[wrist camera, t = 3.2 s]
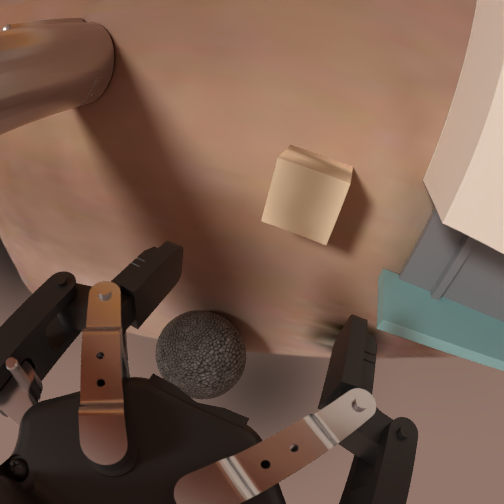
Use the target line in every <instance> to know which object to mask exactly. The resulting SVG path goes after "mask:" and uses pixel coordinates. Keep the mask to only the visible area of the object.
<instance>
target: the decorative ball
mask: <svg viewBox="0 0 504 504" xmlns="http://www.w3.org/2000/svg"><path fill="white" fill-rule="evenodd" d="M156 362H157V366H158V369H159V371H160V374H161V376H162V377H163V379H165V380H166V381H168V382H170V383H172V384H174V385H176V386H177V387H178V388H179V389H181V390H182V391H183V392H184V393H185V394H187V395H188V396H189V397H190V398H195V399H210V398H215V397H218V396H220V395H222V394H224V393H226V392H227V391H229V390H230V389H231V388H232V387H233V386H234V385H235V384H236V383H237V382H238V380H239V379H240V377H241V375H242V373H243V371H244V368H245V363H246V349H245V345H244V341H243V339H242V337H241V335H240V333H239V331H238V330H237V329H236V327H235V326H234V325H233V324H232V323H231V322H230V321H228V320H227V319H226V318H224V317H222V316H220V315H218V314H216V313H213V312H208V311H190V312H186V313H183V314H181V315H179V316H177V317H176V318H174V319H173V320H172V321H170V322H169V323H168V324H167V325H166V326H165V328H164V329H163V331H162V332H161V334H160V336H159V338H158V342H157V345H156Z"/></svg>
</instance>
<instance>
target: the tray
mask: <svg viewBox="0 0 504 504" xmlns="http://www.w3.org/2000/svg"><path fill="white" fill-rule="evenodd" d="M377 329H379V330H382V331H385V332H388V333H391V334H393V335H396V336H399V337H402V338H405V339H408V340H411V341H414V342H417V343H420V344H422V345H425V346H428V347H431V348H434V349H437V350H440V351H443V352H446V353H449V354H452V355H455V356H459V357H462V358H465V359H468V360H471V361H474V362H477V363H480V364H483V365H486V366H490V367H493V368H496V369H499V370H502V371H504V254H503V253H501V252H499V251H497V250H495V249H493V248H491V247H490V246H488V245H486V244H484V243H482V242H480V241H478V240H476V239H474V238H472V237H470V236H468V235H466V234H464V233H462V232H460V231H458V230H456V229H454V228H452V227H449V226H447V225H445V224H443V223H442V221H441V219H440V217H439V214H438V212H437V210H436V207H434V209H433V212H432V214H431V216H430V218H429V220H428V222H427V224H426V226H425V228H424V230H423V232H422V233H421V235H420V237H419V239H418V241H417V243H416V245H415V247H414V249H413V250H412V252H411V254H410V256H409V258H408V260H407V261H406V263H405V265H404V267H403V268H402V270H401V272H400V274H396V273H394V272H391V271H389V270H386V269H383V270H382V272H381V274H380V276H379V281H378V312H377Z"/></svg>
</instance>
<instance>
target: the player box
mask: <svg viewBox="0 0 504 504" xmlns="http://www.w3.org/2000/svg"><path fill="white" fill-rule="evenodd" d="M423 182H424V184H425V186H426V188H427V190H428V192H429V194H430V196H431V199H432V201H433V203H434V205H435V207H436V210H437V212H438V214H439V217H440V219H441V221H442V223H443V224H445V225H447V226H449V227H452V228H454V229H456V230H458V231H460V232H462V233H464V234H466V235H468V236H470V237H472V238H474V239H476V240H478V241H480V242H482V243H484V244H486V245H488V246H490V247H491V248H493V249H495V250H497V251H499V252H501V253H503V254H504V0H477V3H476V9H475V14H474V20H473V25H472V29H471V34H470V38H469V43H468V47H467V51H466V55H465V59H464V63H463V66H462V70H461V74H460V77H459V81H458V84H457V88H456V91H455V94H454V97H453V100H452V104H451V107H450V110H449V113H448V116H447V119H446V121H445V124H444V127H443V130H442V133H441V135H440V138H439V141H438V144H437V146H436V149H435V151H434V154H433V157H432V159H431V162H430V164H429V167H428V169H427V171H426V174H425V176H424V179H423Z"/></svg>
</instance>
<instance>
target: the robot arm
mask: <svg viewBox="0 0 504 504" xmlns="http://www.w3.org/2000/svg"><path fill="white" fill-rule="evenodd" d="M113 67H114V48H113V43H112V40H111V38H110V35H109V33H108V32H107V31H106V30H105V28H104V27H102V26H101V25H99V24H97V23H87V22H84V21H83V19H82V18H66V19H49V20H38V21H28V22H20V23H13V24H8V25H6V26H5V27H4V28H3V29H2V31H0V135H1V134H3V133H5V132H8V131H10V130H13V129H15V128H17V127H20V126H23V125H25V124H28V123H30V122H33V121H36V120H39V119H41V118H44V117H47V116H50V115H53V114H56V113H59V112H62V111H65V110H69V109H72V108H75V107H80V106H82V105H86V104H89V103H91V102H93V101H95V100H96V99H98V98H99V97H100V96H101V95H102V94H103V92H104V91H105V89H106V87H107V86H108V84H109V81H110V79H111V76H112V72H113ZM182 258H183V247H182V246H180V245H177V244H175V243H173V242H170V241H166V242H165V243H164V244H163V245H162V246H160V247H159V248H156V247H152V248H150V249H148V250H145V251H144V252H143V253H141V254H140V255H139V256H138V257H137V259H135V260H134V261H133V262H132V263H130V264H129V265H128V266H127V267H126V268H125V269H124V270H123V271H122V272H121V273H120V274H118V275H117V276H116V277H115V278H114V279H113V280H112V281H111V282H109V281H103V282H99V283H97V284H95V285H94V286H87V285H82V284H78V283H76V279H75V277H74V275H73V274H71V273H69V272H58V273H56V274H54V275H52V276H51V277H50V278H49V279H48V280H47V281H46V282H45V283H44V284H43V285H42V286H40V287H39V288H38V289H37V290H36V291H35V292H34V293H33V294H32V295H31V296H30V297H29V298H28V299H27V300H26V301H25V302H24V303H23V304H22V305H21V306H20V307H19V308H18V309H17V310H16V311H15V312H14V313H13V314H12V315H11V316H10V317H9V318H8V319H7V320H6V322H5V323H4V324H3V325H2V326H1V327H0V413H1V414H2V415H4V416H6V417H10V418H11V419H12V420H13V421H14V422H15V423H16V424H17V425H18V426H20V427H19V434H18V439H17V443H16V447H15V449H14V451H13V453H12V455H11V456H10V457H9V459H7V460H6V461H5V462H4V463H3V464H2V465H0V504H286V502H285V499H284V497H283V494H282V491H281V489H280V486H279V482H281V481H282V480H284V479H286V478H287V477H289V476H290V475H292V474H294V473H295V472H297V471H298V470H300V469H301V468H303V467H305V466H306V465H307V464H309V463H311V462H312V461H313V460H315V459H317V458H318V457H320V456H321V455H322V454H324V453H325V452H327V451H328V450H329V449H331V448H332V447H334V446H335V445H336V444H339V445H341V446H342V447H344V448H346V449H347V450H349V451H350V452H351V453H353V454H354V459H353V462H352V465H351V469H350V472H349V476H348V479H347V482H346V485H345V488H344V491H343V494H342V497H341V500H340V503H339V504H406V501H407V497H408V492H409V487H410V482H411V477H412V472H413V466H414V460H415V454H416V447H417V440H418V430H417V428H416V426H415V424H414V423H413V422H412V421H411V420H410V419H408V418H405V417H399V418H396V419H395V420H393V419H391V418H390V417H388V416H387V415H385V414H384V413H382V412H381V411H380V410H379V409H378V408H377V407H376V401H375V399H374V398H373V396H372V389H373V381H374V372H375V362H376V352H377V344H376V341H375V338H374V335H372V334H369V333H367V323H368V322H367V320H366V319H363V318H360V317H358V316H355V315H351V316H350V317H349V319H348V320H347V322H346V324H345V325H344V327H343V328H342V330H341V332H340V333H339V335H338V337H337V339H336V341H335V343H334V346H333V349H332V354H331V358H330V363H329V367H328V371H327V375H326V379H325V383H324V387H323V391H322V395H321V399H320V402H319V406H318V409H320V411H318V412H317V413H315V414H313V415H312V414H310V415H308V416H306V417H304V418H302V419H301V420H299V421H297V422H296V423H294V424H292V425H291V426H289V427H287V428H285V429H284V430H282V431H280V432H278V433H277V434H275V435H273V436H271V437H269V438H267V439H265V440H264V441H262V439H261V438H260V436H259V435H258V434H257V433H256V432H255V431H254V430H253V429H252V428H251V427H249V426H248V425H247V422H248V420H249V418H247V417H244V416H242V415H239V414H237V413H234V412H232V411H230V410H227V409H225V408H220V407H216V406H211V405H206V404H201V403H197V402H195V401H194V400H193V399H191V398H190V397H189V396H188V395H187V394H185V393H184V392H183V391H182V390H181V389H179V388H178V387H177V386H176V385H174V384H172V383H170V382H168V381H166V380H165V379H163V378H160V377H159V376H156V375H155V374H152V376H151V377H150V379H147V378H141V377H130V374H129V367H128V354H127V336H126V330H127V328H128V327H129V326H130V325H131V326H133V327H135V328H137V329H138V328H139V327H140V326H141V325H142V324H143V322H144V321H145V320H146V319H147V318H148V317H149V315H150V314H151V313H152V312H153V311H154V309H155V308H156V307H157V306H158V305H159V304H160V302H161V301H162V300H163V299H164V298H165V297H166V295H167V294H168V293H169V292H170V291H171V290H172V288H173V287H174V286H175V285H176V284H177V282H178V281H179V278H180V276H181V271H182ZM81 331H82V343H81V370H80V371H81V372H80V391H79V392H75V393H72V394H68V395H64V396H61V397H56V398H53V399H49V400H44V401H41V402H38V401H39V400H40V397H41V393H42V388H43V386H42V382H41V381H42V380H43V379H44V377H45V376H46V375H47V373H48V372H49V371H50V370H51V368H52V367H53V366H54V364H55V363H56V362H57V361H58V359H59V358H60V357H61V356H62V354H63V353H64V352H65V351H66V349H67V348H68V347H69V346H70V345H71V343H72V342H73V341H74V340H75V339H76V337H77V336H78V335H79V334H80V332H81Z"/></svg>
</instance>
